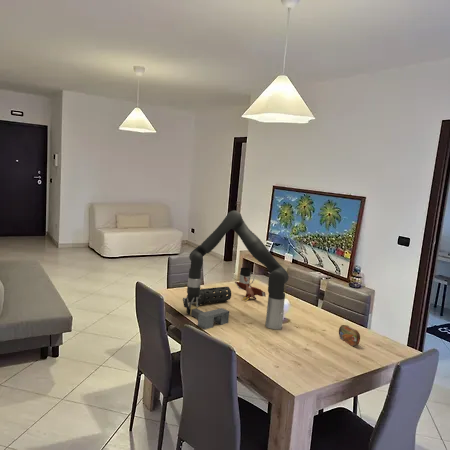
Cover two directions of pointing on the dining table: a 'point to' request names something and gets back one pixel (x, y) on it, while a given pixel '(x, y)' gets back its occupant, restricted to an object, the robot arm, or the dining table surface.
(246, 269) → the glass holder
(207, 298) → the muzzle brake
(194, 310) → the plug rod
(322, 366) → the dining table surface
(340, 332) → the tin
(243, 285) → the decorative bird
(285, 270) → the robot arm
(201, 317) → the block
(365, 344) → the dining table surface
